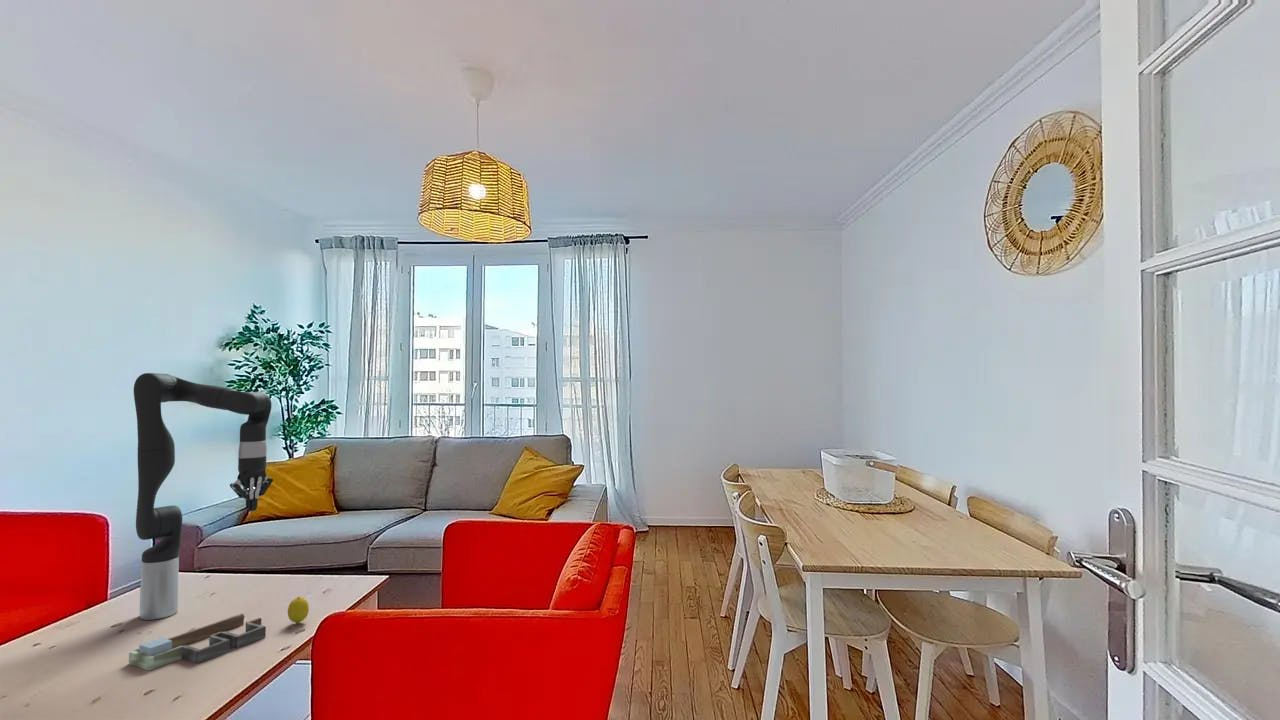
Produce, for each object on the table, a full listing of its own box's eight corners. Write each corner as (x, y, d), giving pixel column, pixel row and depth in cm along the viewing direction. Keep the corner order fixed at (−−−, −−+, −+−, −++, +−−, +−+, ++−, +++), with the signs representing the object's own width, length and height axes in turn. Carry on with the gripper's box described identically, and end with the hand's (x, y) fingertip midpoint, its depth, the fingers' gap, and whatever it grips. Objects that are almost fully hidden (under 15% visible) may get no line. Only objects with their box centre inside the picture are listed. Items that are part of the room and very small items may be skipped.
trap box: (128, 663, 159) (129, 652, 159) (241, 623, 186) (241, 613, 186) (165, 676, 153) (166, 663, 153) (277, 632, 179) (277, 622, 179)
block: (138, 664, 159) (139, 644, 159) (160, 656, 164) (160, 637, 164) (150, 668, 157) (150, 648, 157) (171, 660, 162) (172, 640, 162)
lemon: (299, 628, 182) (299, 600, 183) (283, 626, 183) (283, 599, 184) (312, 620, 188) (313, 594, 188) (297, 619, 189) (297, 592, 189)
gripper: (264, 452, 203) (263, 506, 202) (223, 457, 191) (222, 513, 190) (280, 453, 199) (279, 507, 199) (239, 458, 187) (238, 516, 187)
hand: (251, 510), depth 194 cm, fingers closed
